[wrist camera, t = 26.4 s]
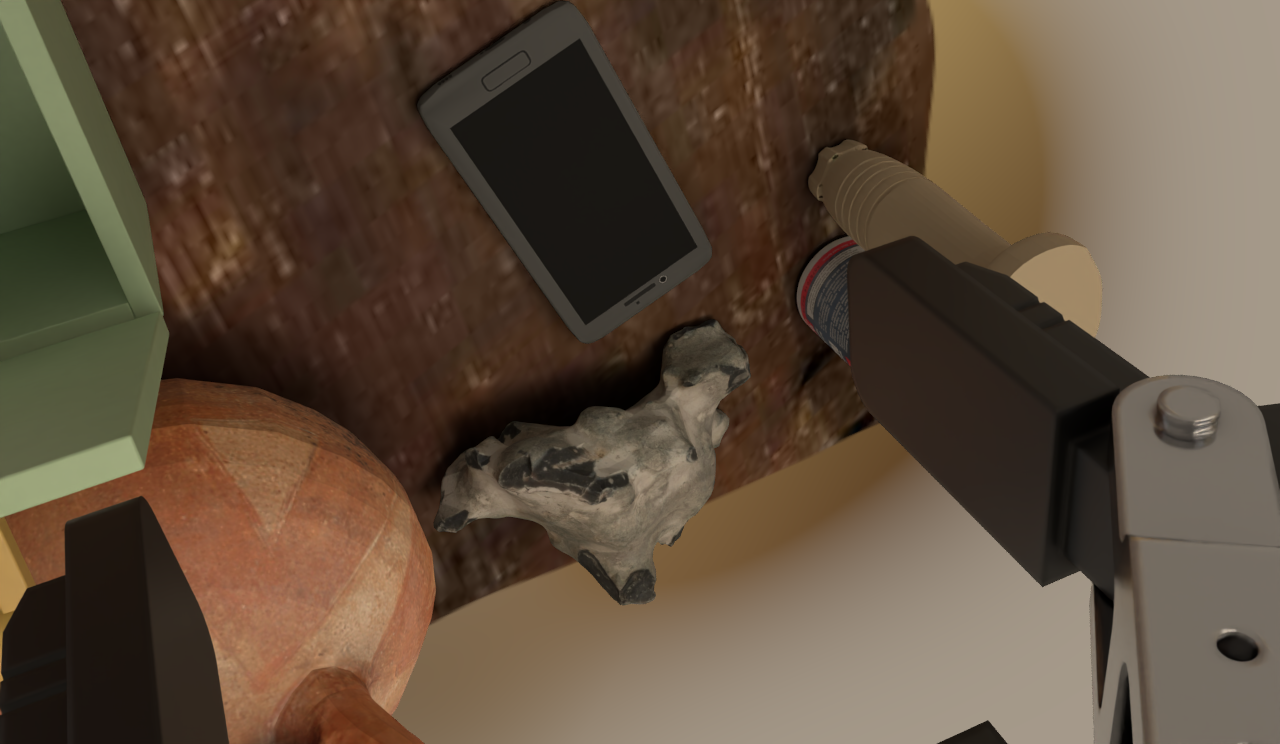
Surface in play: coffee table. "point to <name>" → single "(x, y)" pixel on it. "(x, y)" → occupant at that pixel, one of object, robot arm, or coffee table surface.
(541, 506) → the decorative stone
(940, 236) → the handle
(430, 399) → the coffee table surface
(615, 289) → the cell phone
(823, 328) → the pill bottle
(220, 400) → the jug
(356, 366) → the coffee table surface
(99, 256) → the chest
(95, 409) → the chest lid
